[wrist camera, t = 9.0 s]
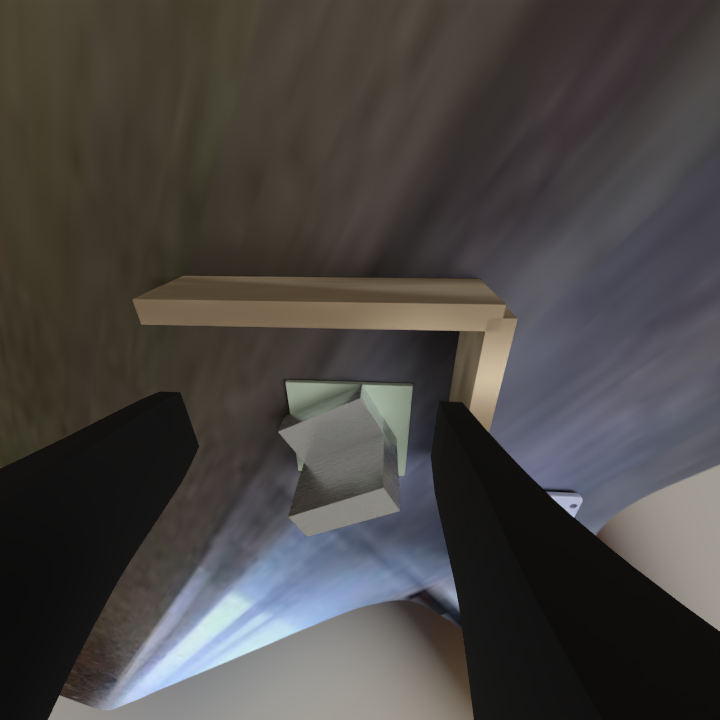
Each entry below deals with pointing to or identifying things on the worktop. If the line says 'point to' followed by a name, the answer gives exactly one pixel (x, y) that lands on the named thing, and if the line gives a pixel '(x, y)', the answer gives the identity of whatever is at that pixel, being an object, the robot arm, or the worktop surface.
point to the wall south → (482, 368)
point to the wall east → (324, 303)
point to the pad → (385, 396)
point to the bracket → (342, 462)
